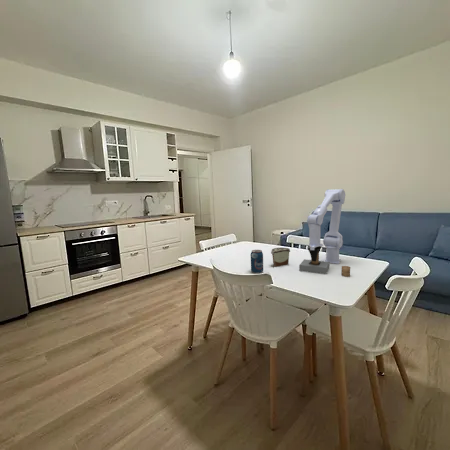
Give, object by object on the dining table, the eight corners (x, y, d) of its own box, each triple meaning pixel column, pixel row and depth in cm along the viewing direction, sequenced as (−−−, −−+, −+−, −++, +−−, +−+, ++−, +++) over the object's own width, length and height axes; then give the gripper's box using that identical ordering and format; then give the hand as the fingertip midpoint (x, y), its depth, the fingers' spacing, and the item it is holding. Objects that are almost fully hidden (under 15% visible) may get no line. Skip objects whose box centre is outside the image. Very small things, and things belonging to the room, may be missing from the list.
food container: (284, 262, 154) (284, 246, 153) (290, 264, 149) (290, 248, 147) (267, 264, 150) (267, 248, 149) (272, 267, 144) (272, 251, 143)
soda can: (256, 274, 134) (256, 253, 132) (248, 271, 139) (247, 250, 137) (266, 271, 138) (265, 250, 136) (257, 268, 143) (256, 248, 142)
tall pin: (311, 264, 140) (311, 250, 139) (319, 265, 138) (319, 251, 137) (310, 266, 137) (310, 252, 136) (318, 267, 135) (318, 252, 134)
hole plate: (304, 265, 147) (304, 259, 146) (329, 267, 139) (329, 261, 139) (299, 270, 136) (299, 264, 136) (326, 274, 129) (326, 267, 129)
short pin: (341, 273, 129) (341, 265, 129) (350, 274, 127) (350, 266, 127) (341, 276, 126) (341, 267, 125) (349, 277, 124) (350, 268, 123)
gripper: (320, 239, 127) (320, 264, 129) (324, 234, 140) (324, 257, 141) (306, 238, 131) (306, 262, 132) (311, 233, 143) (311, 256, 145)
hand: (314, 260), depth 137 cm, fingers closed on tall pin, 4 cm apart
